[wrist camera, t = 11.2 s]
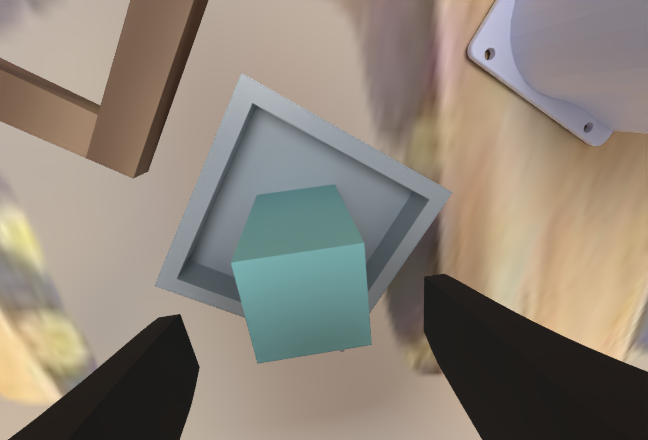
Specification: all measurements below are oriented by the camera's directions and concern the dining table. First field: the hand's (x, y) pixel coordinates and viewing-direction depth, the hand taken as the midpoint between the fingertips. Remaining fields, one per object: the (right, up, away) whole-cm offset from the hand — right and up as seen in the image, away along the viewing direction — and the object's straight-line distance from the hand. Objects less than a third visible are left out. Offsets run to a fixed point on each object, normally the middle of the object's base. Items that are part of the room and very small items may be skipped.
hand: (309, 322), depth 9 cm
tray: (-1, +3, +8) cm, 8 cm away
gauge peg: (-1, +3, +7) cm, 8 cm away
